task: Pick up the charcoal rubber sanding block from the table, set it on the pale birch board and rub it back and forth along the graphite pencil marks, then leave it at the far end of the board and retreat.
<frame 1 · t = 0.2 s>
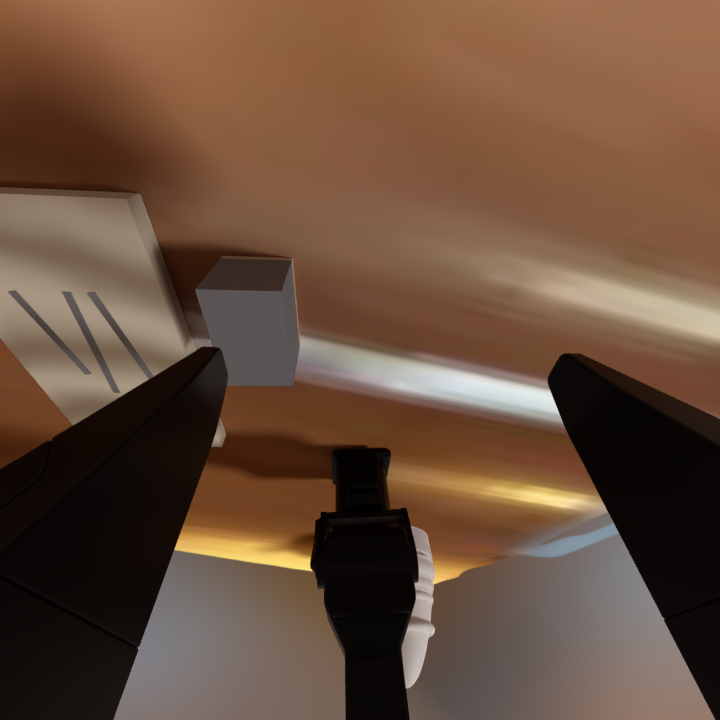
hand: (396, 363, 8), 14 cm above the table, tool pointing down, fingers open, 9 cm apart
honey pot: (389, 540, 51), on the table
board: (115, 347, 24), on the table
sanding block: (265, 303, 22), on the table
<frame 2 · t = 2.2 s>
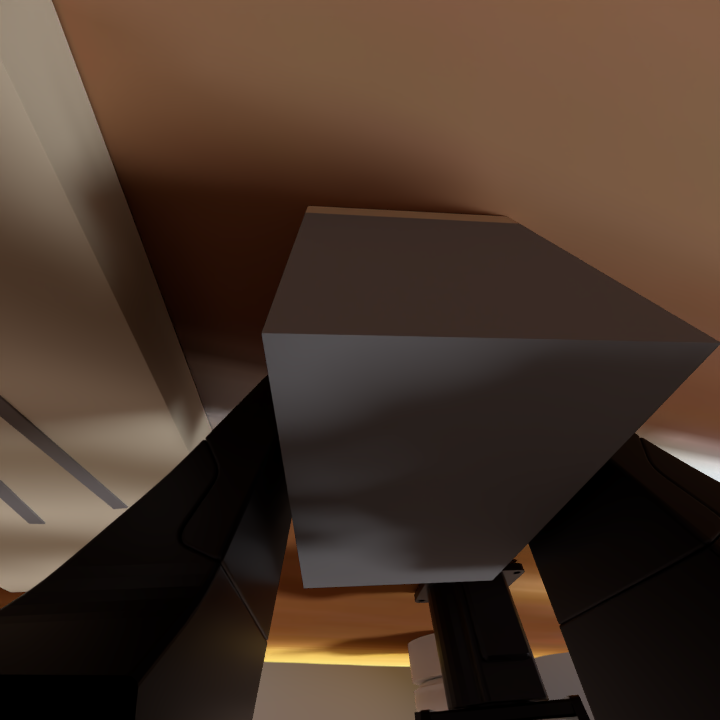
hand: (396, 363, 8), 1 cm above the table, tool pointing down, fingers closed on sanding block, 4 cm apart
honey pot: (459, 638, 37), on the table
board: (30, 430, 10), on the table
sanding block: (390, 340, 9), on the table, touching gripper
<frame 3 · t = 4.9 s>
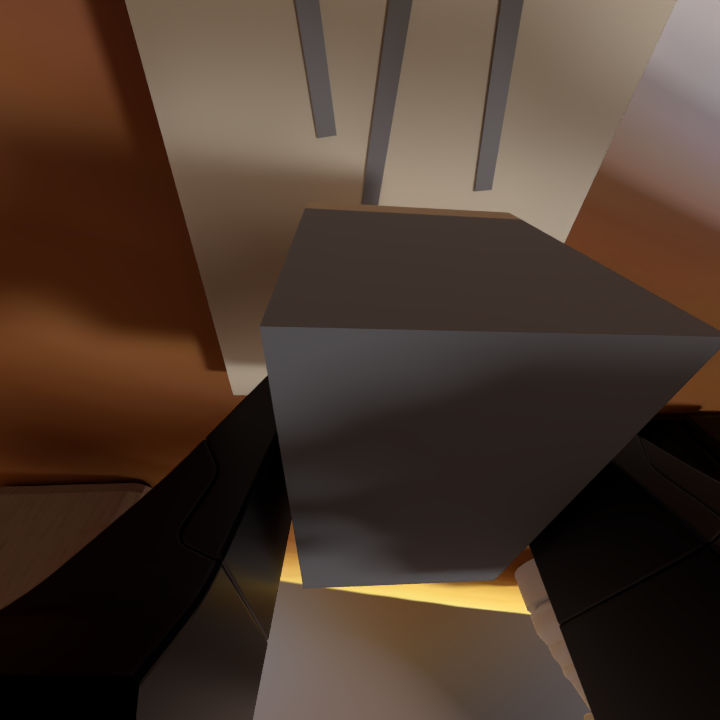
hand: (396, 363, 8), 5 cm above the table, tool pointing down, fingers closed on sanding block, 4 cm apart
wooden block: (110, 512, 23), on the table
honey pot: (570, 563, 36), on the table
board: (393, 73, 8), on the table
sanding block: (391, 338, 9), point 4 cm above the table, touching gripper
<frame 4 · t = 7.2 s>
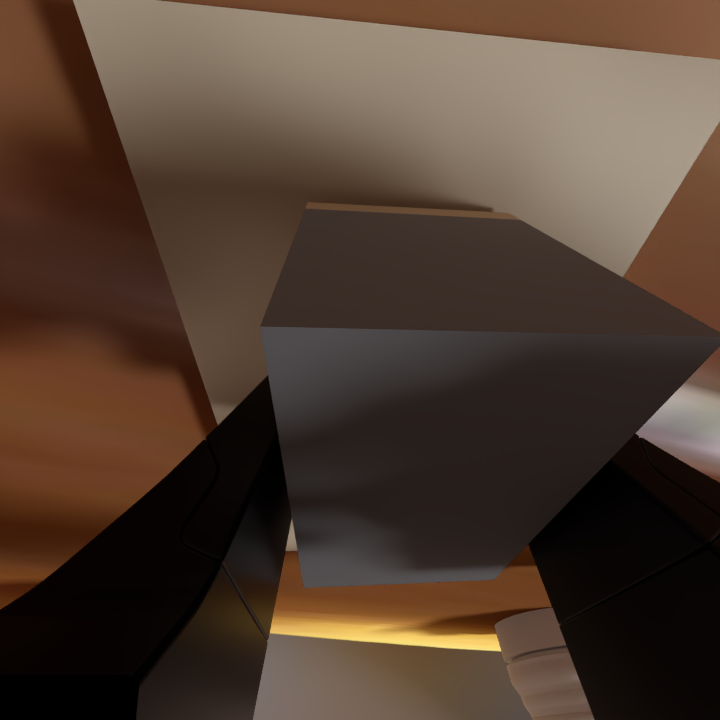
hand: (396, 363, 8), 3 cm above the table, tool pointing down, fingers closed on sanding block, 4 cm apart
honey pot: (543, 618, 40), on the table
board: (375, 407, 13), on the table
sanding block: (391, 338, 9), point 2 cm above the table, touching gripper
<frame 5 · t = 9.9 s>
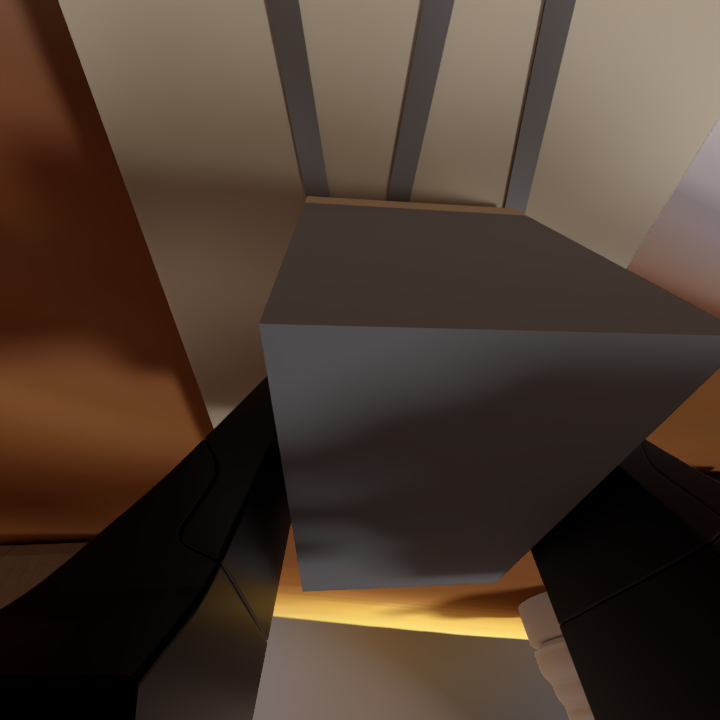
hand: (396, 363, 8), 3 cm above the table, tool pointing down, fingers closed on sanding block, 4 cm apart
wooden block: (105, 562, 22), on the table
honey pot: (574, 597, 35), on the table
board: (400, 188, 8), on the table
sanding block: (392, 337, 9), point 2 cm above the table, touching gripper
when the fingers open (3 cm above the table, at t = 12.3 s): sanding block stays where it is, resting on board.
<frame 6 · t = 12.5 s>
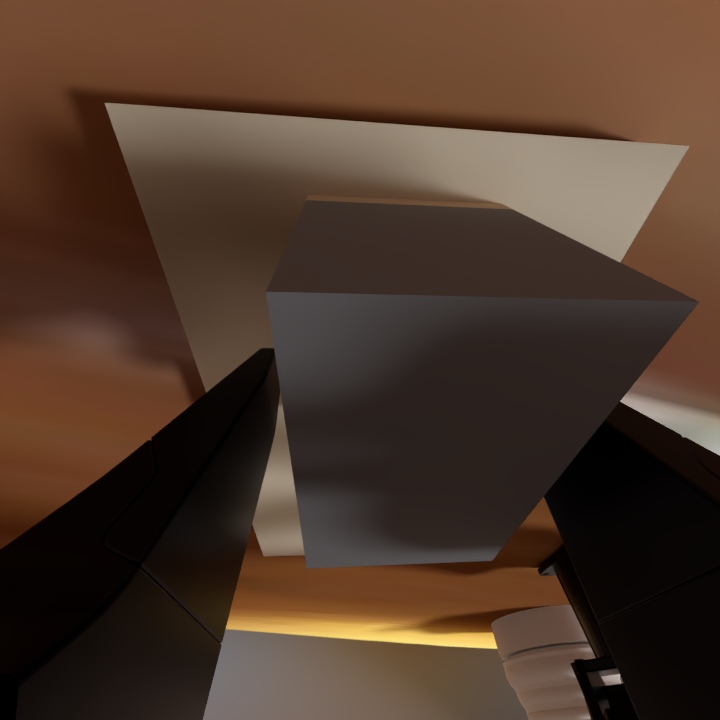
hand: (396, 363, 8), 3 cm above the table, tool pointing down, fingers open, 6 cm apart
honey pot: (538, 616, 41), on the table
board: (370, 423, 14), on the table
sanding block: (390, 329, 9), point 2 cm above the table, touching board
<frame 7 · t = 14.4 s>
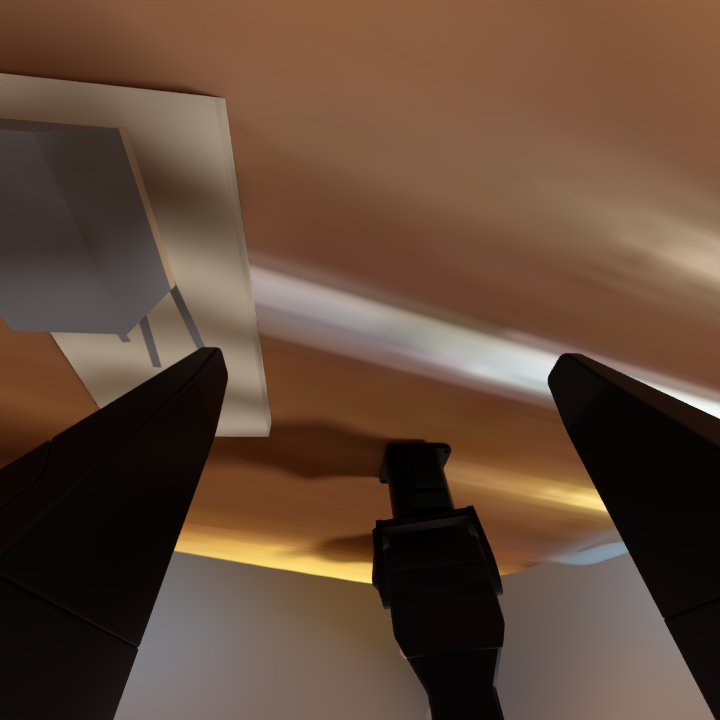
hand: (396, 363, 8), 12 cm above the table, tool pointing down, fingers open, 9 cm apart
board: (160, 310, 20), on the table
sanding block: (105, 214, 15), point 2 cm above the table, touching board
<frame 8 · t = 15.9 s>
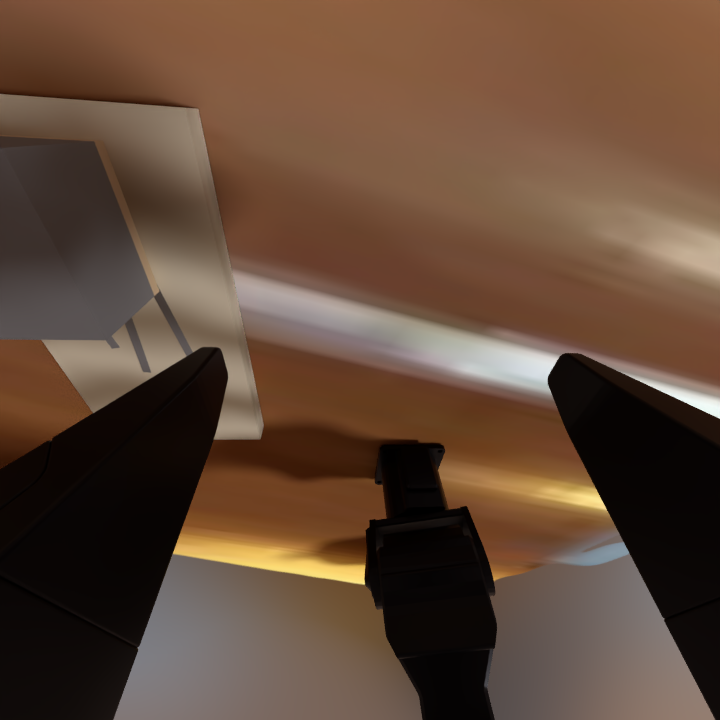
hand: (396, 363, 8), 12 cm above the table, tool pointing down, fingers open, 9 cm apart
board: (148, 317, 20), on the table
sanding block: (87, 224, 15), point 2 cm above the table, touching board
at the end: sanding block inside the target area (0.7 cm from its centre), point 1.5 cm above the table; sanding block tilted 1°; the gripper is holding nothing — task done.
